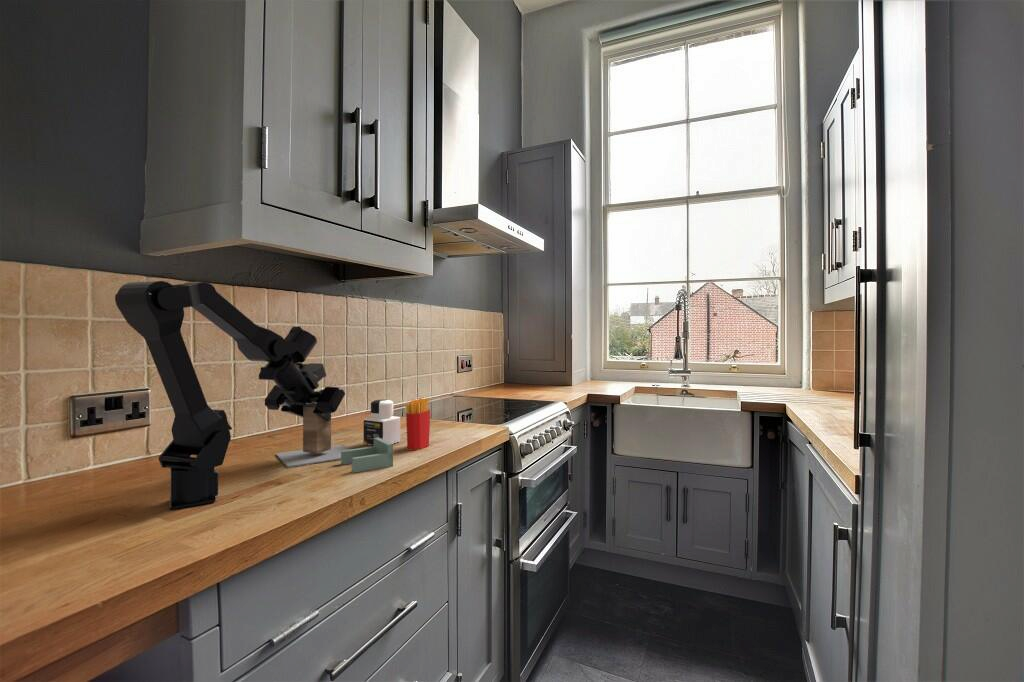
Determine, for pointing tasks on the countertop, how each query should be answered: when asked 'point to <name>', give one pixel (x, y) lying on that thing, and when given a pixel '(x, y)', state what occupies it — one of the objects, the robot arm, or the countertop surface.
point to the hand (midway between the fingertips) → (320, 418)
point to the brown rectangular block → (315, 431)
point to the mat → (310, 456)
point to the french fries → (418, 424)
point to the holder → (369, 456)
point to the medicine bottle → (382, 423)
